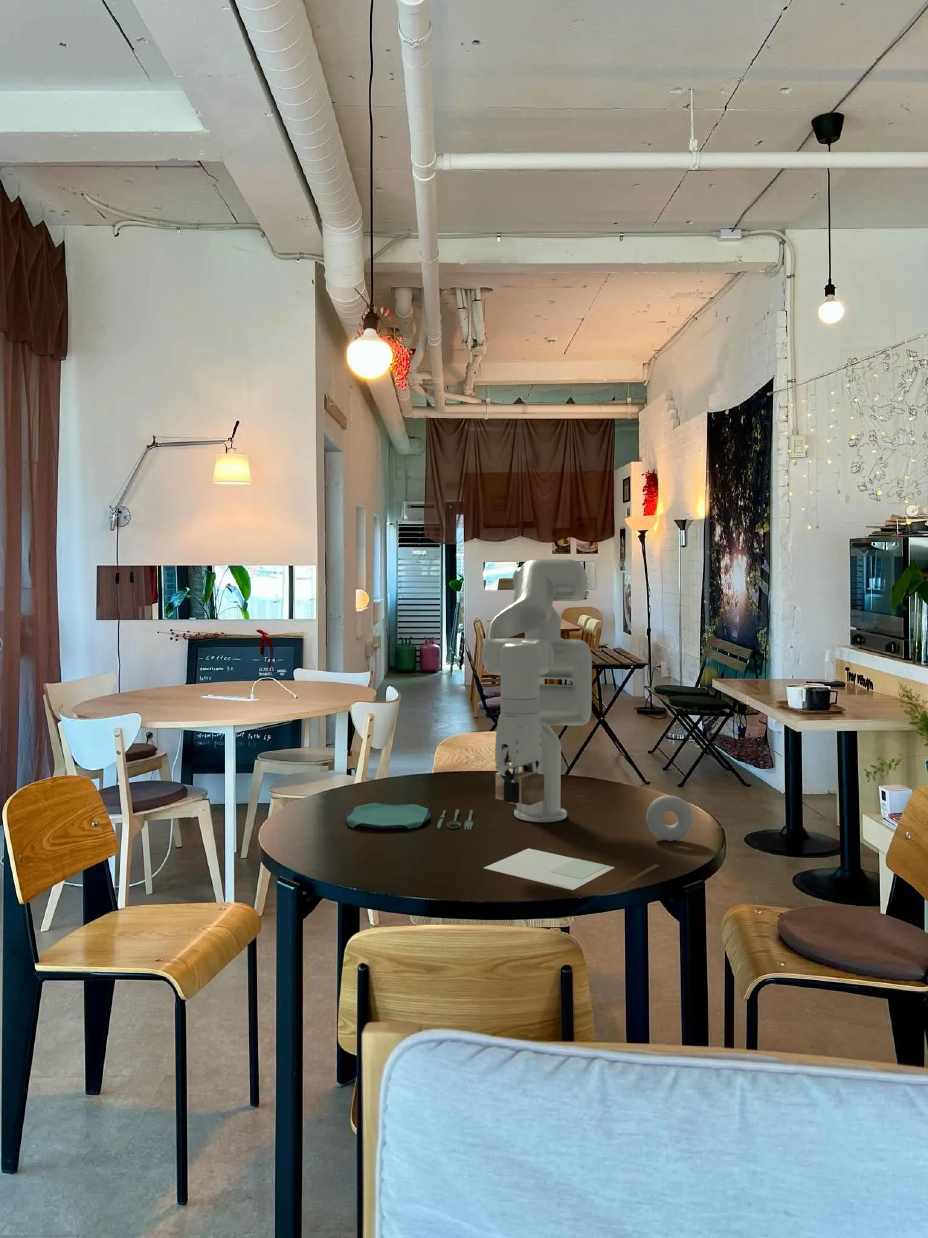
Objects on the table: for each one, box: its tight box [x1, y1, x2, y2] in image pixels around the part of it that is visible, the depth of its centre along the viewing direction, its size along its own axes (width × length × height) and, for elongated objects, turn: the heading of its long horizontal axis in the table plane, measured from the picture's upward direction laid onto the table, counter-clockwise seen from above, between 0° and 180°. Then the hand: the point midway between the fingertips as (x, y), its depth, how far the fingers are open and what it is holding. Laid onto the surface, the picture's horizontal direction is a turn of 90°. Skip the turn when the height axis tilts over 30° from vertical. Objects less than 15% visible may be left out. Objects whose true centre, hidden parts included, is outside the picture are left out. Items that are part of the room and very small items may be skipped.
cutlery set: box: [345, 802, 474, 831], centre depth 207 cm, size 20×30×2 cm, turn 86°
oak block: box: [495, 769, 544, 805], centre depth 172 cm, size 8×5×5 cm, turn 53°
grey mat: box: [483, 847, 615, 891], centre depth 171 cm, size 20×16×1 cm
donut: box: [645, 794, 694, 842], centre depth 191 cm, size 10×4×10 cm, turn 80°
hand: (519, 798), depth 172 cm, fingers closed on oak block, 5 cm apart
